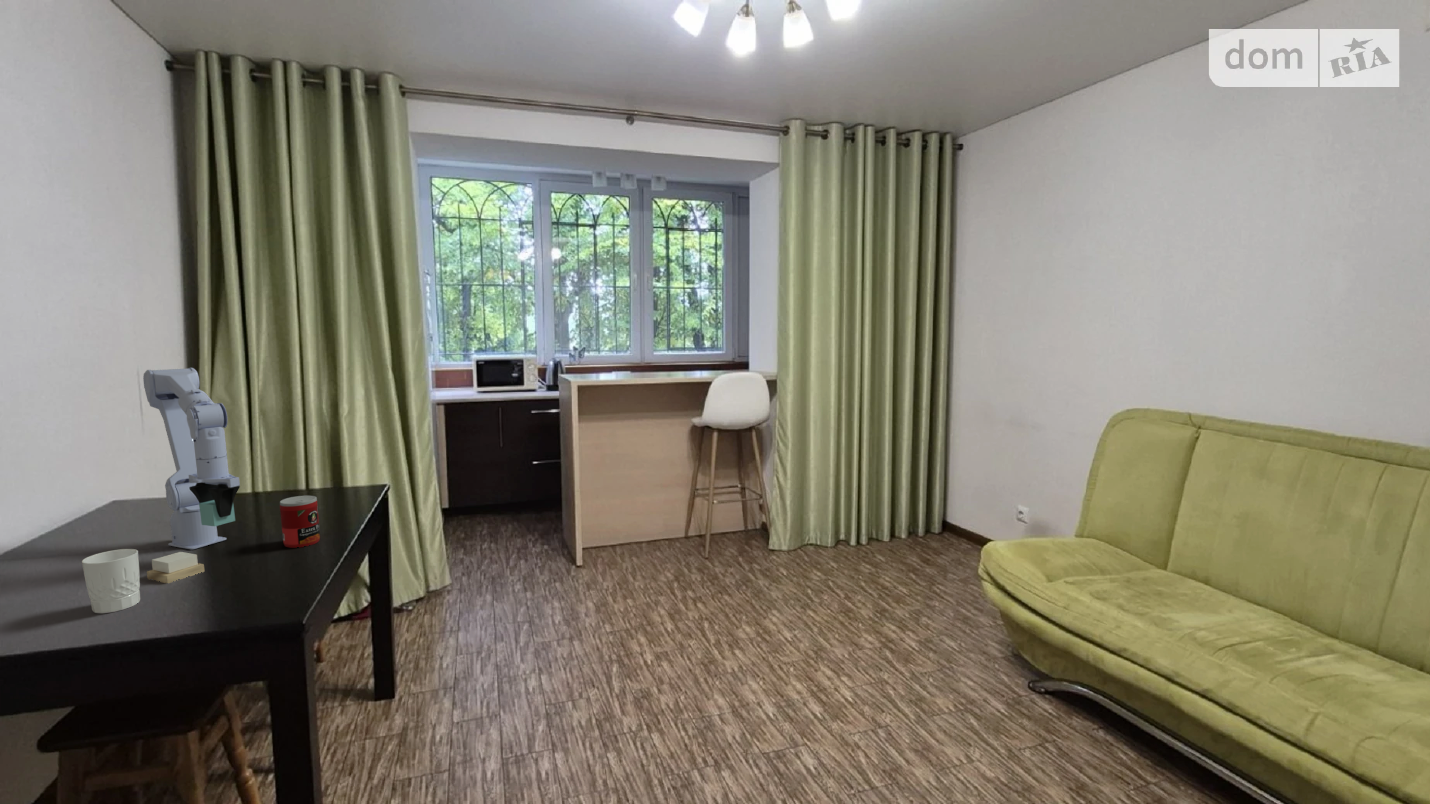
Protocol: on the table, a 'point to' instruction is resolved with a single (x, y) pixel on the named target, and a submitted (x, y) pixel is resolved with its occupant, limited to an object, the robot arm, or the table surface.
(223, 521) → the teal block
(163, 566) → the cream slab
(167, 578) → the oak slab
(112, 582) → the white cup
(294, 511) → the canned food
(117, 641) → the table surface
